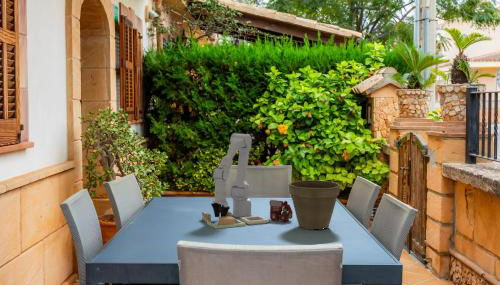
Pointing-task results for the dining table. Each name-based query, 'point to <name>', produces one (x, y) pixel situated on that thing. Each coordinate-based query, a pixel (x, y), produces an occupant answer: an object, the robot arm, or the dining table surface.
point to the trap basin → (254, 220)
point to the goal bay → (227, 225)
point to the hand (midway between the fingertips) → (220, 218)
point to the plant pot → (314, 202)
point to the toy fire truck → (280, 210)
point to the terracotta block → (226, 220)
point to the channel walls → (207, 216)
